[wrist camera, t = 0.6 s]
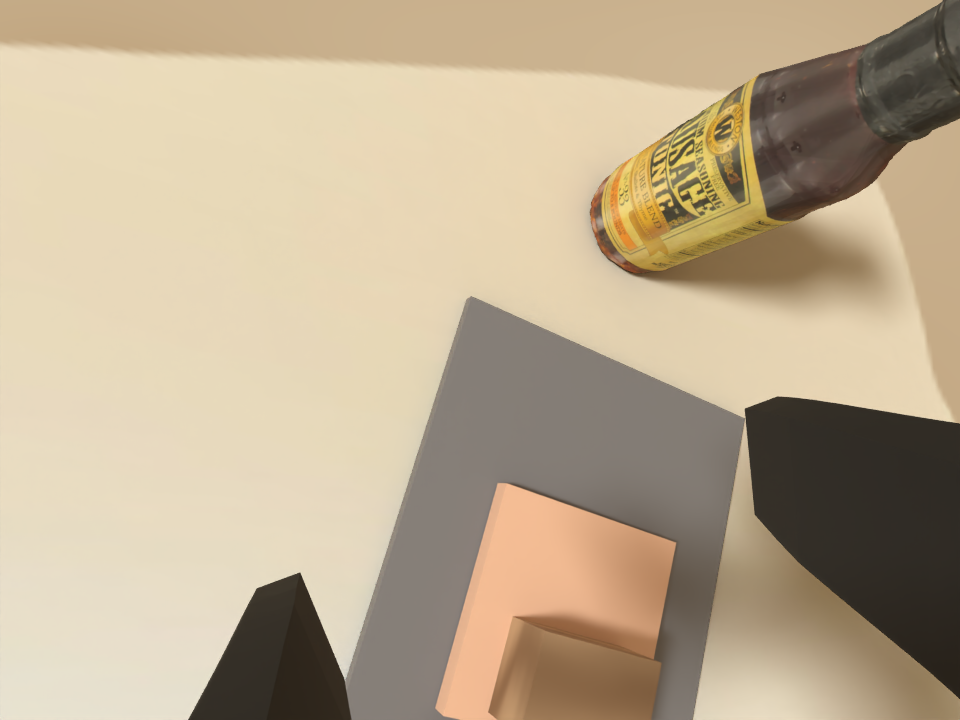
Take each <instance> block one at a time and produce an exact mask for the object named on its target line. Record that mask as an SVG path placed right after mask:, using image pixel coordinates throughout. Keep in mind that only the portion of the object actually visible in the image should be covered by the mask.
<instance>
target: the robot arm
mask: <svg viewBox="0 0 960 720" xmlns="http://www.w3.org/2000/svg"><path fill="white" fill-rule="evenodd" d="M745 416H746V427H747V437H748V448H749V458H750V469H751V479H752V490H753V500H754V511H755V515H756V516H757V518H758V519H759V520H760V521H761V522H762V523H763V524H764V525H765V527H766V528H767V529H768V530H769V531H770V532H771V533H772V534H773V536H774V537H775V538H776V539H777V540H778V541H779V542H780V543H781V544H782V545H783V546H784V547H785V549H786V550H787V551H788V552H789V553H790V554H791V555H792V556H793V557H794V558H795V559H796V560H797V561H798V562H799V563H800V564H801V565H802V566H803V567H805V568H806V569H807V570H808V571H809V572H810V573H812V574H813V575H814V576H815V577H816V578H817V579H819V580H820V581H821V582H822V583H823V584H825V585H826V586H827V587H828V588H829V589H830V590H832V591H833V592H834V593H835V594H836V595H838V596H839V597H840V598H841V599H842V600H844V601H845V602H846V603H847V604H848V605H850V606H851V607H852V608H853V609H854V610H856V611H857V612H858V613H859V614H860V615H862V616H863V617H864V618H865V619H867V620H868V621H869V622H870V623H871V624H873V625H874V626H875V627H876V628H877V629H879V630H880V631H881V632H882V633H883V634H885V635H886V636H887V637H888V638H889V639H891V640H892V641H893V642H894V643H896V644H897V645H898V646H899V647H900V648H902V649H903V650H904V651H905V652H906V653H908V654H909V655H910V656H911V657H912V658H914V659H915V660H916V661H917V662H918V663H920V664H921V665H922V666H923V667H925V668H926V669H927V670H928V671H929V672H930V673H931V674H933V675H934V676H935V677H936V678H937V679H938V680H939V681H940V682H942V683H943V684H944V685H945V686H946V687H947V688H948V689H949V690H951V691H952V692H953V693H954V694H955V695H956V696H957V697H958V698H959V699H960V424H959V423H953V422H946V421H939V420H933V419H927V418H921V417H915V416H909V415H902V414H897V413H891V412H885V411H879V410H873V409H867V408H861V407H855V406H849V405H843V404H837V403H830V402H823V401H817V400H809V399H801V398H792V397H775V398H772V399H770V400H767V401H764V402H762V403H759V404H756V405H753V406H751V407H748V408H745ZM188 720H352V719H351V714H350V708H349V702H348V697H347V691H346V685H345V680H344V677H343V675H342V673H341V670H340V668H339V665H338V663H337V660H336V658H335V656H334V653H333V651H332V648H331V646H330V644H329V641H328V639H327V636H326V634H325V631H324V629H323V627H322V624H321V622H320V619H319V617H318V615H317V612H316V610H315V607H314V605H313V602H312V600H311V598H310V595H309V593H308V590H307V588H306V586H305V583H304V581H303V578H302V576H301V573H297V574H295V575H292V576H289V577H287V578H284V579H281V580H278V581H276V582H273V583H270V584H268V585H265V586H262V587H259V588H257V589H256V591H255V593H254V595H253V597H252V598H251V600H250V602H249V604H248V606H247V608H246V610H245V612H244V614H243V616H242V618H241V620H240V622H239V624H238V626H237V628H236V630H235V632H234V634H233V636H232V638H231V640H230V642H229V644H228V646H227V648H226V650H225V652H224V653H223V655H222V657H221V659H220V661H219V663H218V665H217V667H216V669H215V671H214V673H213V675H212V677H211V678H210V680H209V682H208V684H207V686H206V688H205V690H204V692H203V693H202V695H201V697H200V699H199V701H198V703H197V705H196V706H195V708H194V710H193V712H192V714H191V716H190V718H189V719H188Z"/></svg>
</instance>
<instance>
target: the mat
mask: <svg viewBox="0 0 960 720" xmlns="http://www.w3.org/2000/svg"><path fill="white" fill-rule="evenodd" d="M744 420H745V418H742V417H740V416H738V415H736V414H733V413H731V412H729V411H727V410H724V409H722V408H720V407H718V406H716V405H713V404H711V403H709V402H707V401H704V400H702V399H700V398H698V397H695V396H693V395H691V394H689V393H686V392H684V391H682V390H680V389H678V388H675V387H673V386H671V385H669V384H666V383H664V382H662V381H660V380H657V379H655V378H653V377H651V376H648V375H646V374H644V373H642V372H639V371H637V370H635V369H633V368H631V367H628V366H626V365H624V364H622V363H619V362H617V361H615V360H613V359H610V358H608V357H606V356H604V355H601V354H599V353H597V352H595V351H593V350H590V349H588V348H586V347H584V346H581V345H579V344H577V343H575V342H572V341H570V340H568V339H566V338H563V337H561V336H559V335H557V334H555V333H552V332H550V331H548V330H546V329H543V328H541V327H539V326H537V325H534V324H532V323H530V322H528V321H525V320H523V319H521V318H519V317H516V316H514V315H512V314H510V313H508V312H505V311H503V310H501V309H499V308H496V307H494V306H492V305H490V304H487V303H485V302H483V301H481V300H478V299H476V298H474V297H472V296H471V297H470V298H468V299H467V300H466V303H465V306H464V310H463V313H462V316H461V319H460V322H459V325H458V328H457V332H456V335H455V338H454V341H453V344H452V347H451V351H450V354H449V357H448V360H447V363H446V366H445V369H444V373H443V376H442V379H441V382H440V385H439V388H438V391H437V395H436V398H435V401H434V404H433V407H432V410H431V414H430V417H429V420H428V423H427V426H426V429H425V432H424V436H423V439H422V442H421V445H420V448H419V451H418V454H417V458H416V461H415V464H414V467H413V470H412V473H411V476H410V480H409V483H408V486H407V489H406V492H405V495H404V499H403V502H402V505H401V508H400V511H399V514H398V517H397V521H396V524H395V527H394V530H393V533H392V536H391V539H390V543H389V546H388V549H387V552H386V555H385V558H384V561H383V565H382V568H381V571H380V574H379V577H378V580H377V584H376V587H375V590H374V593H373V596H372V599H371V602H370V606H369V609H368V612H367V615H366V618H365V621H364V624H363V628H362V631H361V634H360V637H359V640H358V643H357V646H356V650H355V653H354V656H353V659H352V662H351V665H350V669H349V672H348V675H347V678H346V681H345V685H346V691H347V697H348V702H349V708H350V714H351V719H352V720H460V719H455V718H450V717H445V716H443V715H442V714H441V713H439V712H438V711H437V710H436V709H435V707H436V703H437V700H438V696H439V692H440V689H441V685H442V682H443V678H444V674H445V671H446V667H447V664H448V660H449V656H450V653H451V649H452V646H453V642H454V638H455V635H456V631H457V628H458V624H459V620H460V617H461V613H462V610H463V606H464V602H465V599H466V595H467V592H468V588H469V585H470V581H471V577H472V574H473V570H474V567H475V563H476V559H477V556H478V552H479V549H480V545H481V541H482V538H483V534H484V531H485V527H486V523H487V520H488V516H489V513H490V509H491V505H492V502H493V498H494V495H495V491H496V487H497V484H498V483H507V484H510V485H513V486H516V487H519V488H522V489H524V490H527V491H530V492H533V493H536V494H539V495H542V496H544V497H547V498H550V499H553V500H556V501H559V502H562V503H564V504H567V505H570V506H573V507H576V508H579V509H582V510H584V511H587V512H590V513H593V514H596V515H599V516H602V517H604V518H607V519H610V520H613V521H616V522H619V523H622V524H624V525H627V526H630V527H633V528H636V529H639V530H642V531H644V532H647V533H650V534H653V535H656V536H659V537H661V538H664V539H667V540H670V541H673V542H676V546H675V551H674V557H673V562H672V567H671V572H670V577H669V582H668V587H667V593H666V598H665V603H664V608H663V613H662V618H661V624H660V629H659V634H658V639H657V644H656V649H655V654H654V660H656V661H658V662H661V663H662V665H661V670H660V675H659V680H658V686H657V691H656V696H655V701H654V707H653V712H652V717H651V720H693V714H694V708H695V702H696V696H697V691H698V685H699V679H700V673H701V668H702V662H703V656H704V650H705V645H706V639H707V633H708V627H709V622H710V616H711V610H712V604H713V599H714V593H715V587H716V581H717V576H718V570H719V564H720V558H721V553H722V547H723V541H724V535H725V530H726V524H727V518H728V512H729V507H730V501H731V495H732V489H733V484H734V478H735V472H736V466H737V461H738V455H739V449H740V443H741V437H742V432H743V426H744Z"/></svg>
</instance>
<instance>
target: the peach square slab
mask: <svg viewBox="0 0 960 720" xmlns="http://www.w3.org/2000/svg"><path fill="white" fill-rule="evenodd" d="M675 546H676V542H673V541H670V540H667V539H664V538H661V537H659V536H656V535H653V534H650V533H647V532H644V531H642V530H639V529H636V528H633V527H630V526H627V525H624V524H622V523H619V522H616V521H613V520H610V519H607V518H604V517H602V516H599V515H596V514H593V513H590V512H587V511H584V510H582V509H579V508H576V507H573V506H570V505H567V504H564V503H562V502H559V501H556V500H553V499H550V498H547V497H544V496H542V495H539V494H536V493H533V492H530V491H527V490H524V489H522V488H519V487H516V486H513V485H510V484H507V483H498V484H497V487H496V491H495V495H494V498H493V502H492V505H491V509H490V513H489V516H488V520H487V523H486V527H485V531H484V534H483V538H482V541H481V545H480V549H479V552H478V556H477V559H476V563H475V567H474V570H473V574H472V577H471V581H470V585H469V588H468V592H467V595H466V599H465V602H464V606H463V610H462V613H461V617H460V620H459V624H458V628H457V631H456V635H455V638H454V642H453V646H452V649H451V653H450V656H449V660H448V664H447V667H446V671H445V674H444V678H443V682H442V685H441V689H440V692H439V696H438V700H437V703H436V707H435V709H436V710H437V711H438V712H439V713H441V714H442V715H443V716H445V717H450V718H455V719H460V720H651V717H652V712H653V707H654V701H655V696H656V691H657V686H658V680H659V675H660V670H661V665H662V663H661V662H658V661H656V660H654V654H655V649H656V644H657V639H658V634H659V629H660V624H661V618H662V613H663V608H664V603H665V598H666V593H667V587H668V582H669V577H670V572H671V567H672V562H673V557H674V551H675Z"/></svg>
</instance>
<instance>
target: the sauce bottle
mask: <svg viewBox="0 0 960 720" xmlns="http://www.w3.org/2000/svg"><path fill="white" fill-rule="evenodd" d="M959 118H960V0H943V1H942V2H941V3H940V4H938V5H937V6H935V7H933V8H931V9H930V10H928V11H926V12H925V13H923V14H921V15H920V16H918V17H916V18H914V19H913V20H911V21H909V22H908V23H906V24H904V25H903V26H901V27H900V28H898V29H896V30H894V31H892V32H891V33H889V34H886V35H883V36H880V37H878V38H876V39H875V40H873V41H872V42H870V43H868V44H866V45H862V46H858V47H855V48H852V49H848V50H844V51H841V52H838V53H834V54H828V55H825V56H822V57H819V58H815V59H812V60H808V61H805V62H801V63H798V64H794V65H791V66H787V67H784V68H780V69H776V70H773V71H769V72H765V73H762V74H759V75H758V76H756V77H755V78H753V79H752V80H750V81H749V82H747V83H746V84H744V85H742V86H741V87H739V88H737V89H736V90H734V91H733V92H731V93H730V94H729V95H727V96H726V97H724V98H723V99H721V100H720V101H718V102H717V103H715V104H713V105H711V106H710V107H708V108H707V109H705V110H703V111H702V112H701V113H700V114H698V115H697V116H695V117H694V118H692V119H690V120H688V121H686V122H685V123H684V124H681V125H680V126H679V127H677V128H676V129H675V130H673V131H672V132H670V133H669V134H667V135H666V136H665V137H663V138H662V139H660V140H659V141H657V142H655V143H654V144H652V145H651V146H649V147H648V148H646V149H645V150H643V151H642V152H640V153H639V154H637V155H636V156H634V157H633V158H631V159H629V160H628V161H626V162H625V163H623V164H621V165H620V166H619V167H618V168H617V169H616V170H615V171H614V172H613V173H612V174H611V175H610V176H608V177H607V178H606V179H605V180H604V181H603V182H602V184H601V185H600V186H599V188H598V190H597V191H596V193H595V195H594V198H593V200H592V202H591V206H592V207H591V210H590V216H591V224H592V229H593V232H594V234H595V237H596V239H597V243H598V246H599V247H600V249H601V251H602V252H603V253H604V254H605V256H606V257H607V258H609V259H610V260H612V261H614V262H615V263H616V264H617V265H619V266H620V267H622V268H623V269H625V270H628V271H631V272H633V273H642V272H644V273H646V272H650V271H662V270H666V269H669V268H671V267H674V266H676V265H679V264H682V263H684V262H687V261H690V260H692V259H695V258H697V257H700V256H703V255H705V254H708V253H710V252H713V251H716V250H719V249H721V248H724V247H727V246H729V245H732V244H735V243H737V242H740V241H743V240H745V239H748V238H750V237H753V236H756V235H758V234H761V233H764V232H766V231H769V230H771V229H774V228H777V227H779V226H782V225H785V224H787V223H790V222H793V221H795V220H798V219H800V218H802V217H804V216H805V215H807V214H808V213H810V212H812V211H815V210H817V209H820V208H824V207H826V206H828V205H832V204H834V203H836V202H839V201H842V200H845V199H847V198H849V197H851V196H853V195H855V194H857V193H859V192H860V191H861V190H863V189H864V188H866V187H868V186H869V185H870V184H872V183H873V182H874V181H875V180H876V179H877V178H878V176H879V175H880V174H881V172H882V171H883V170H884V169H885V168H886V166H887V165H888V163H889V161H890V160H891V159H892V158H893V156H894V155H895V154H896V153H898V152H899V151H900V150H901V149H902V148H903V147H904V146H905V145H906V144H907V143H908V142H911V141H913V140H918V139H921V138H923V137H925V136H927V135H928V134H929V133H930V132H931V131H932V130H934V129H936V128H938V127H941V126H944V125H947V124H949V123H950V122H953V121H955V120H957V119H959Z"/></svg>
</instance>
